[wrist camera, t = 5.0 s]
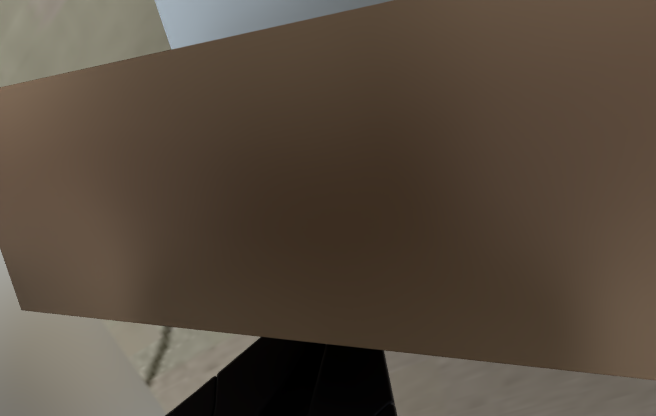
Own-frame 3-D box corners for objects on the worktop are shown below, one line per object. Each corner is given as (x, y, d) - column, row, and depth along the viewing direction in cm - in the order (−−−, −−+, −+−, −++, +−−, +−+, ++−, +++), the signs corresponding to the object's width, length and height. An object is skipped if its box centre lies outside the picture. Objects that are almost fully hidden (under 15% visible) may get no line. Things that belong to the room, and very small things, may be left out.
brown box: (584, 207, 10) (960, 438, 3) (242, 214, 14) (25, 321, 7) (595, 56, 9) (1209, -181, 2) (224, 109, 13) (-52, 98, 6)
